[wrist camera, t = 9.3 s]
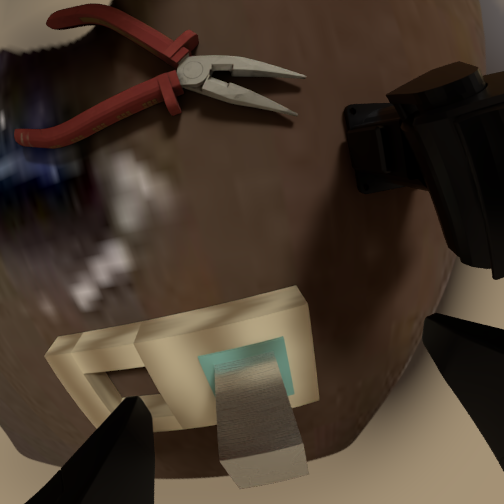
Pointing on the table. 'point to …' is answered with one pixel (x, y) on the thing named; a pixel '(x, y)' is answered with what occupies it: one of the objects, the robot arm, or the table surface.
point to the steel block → (256, 423)
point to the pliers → (156, 89)
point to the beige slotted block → (189, 357)
